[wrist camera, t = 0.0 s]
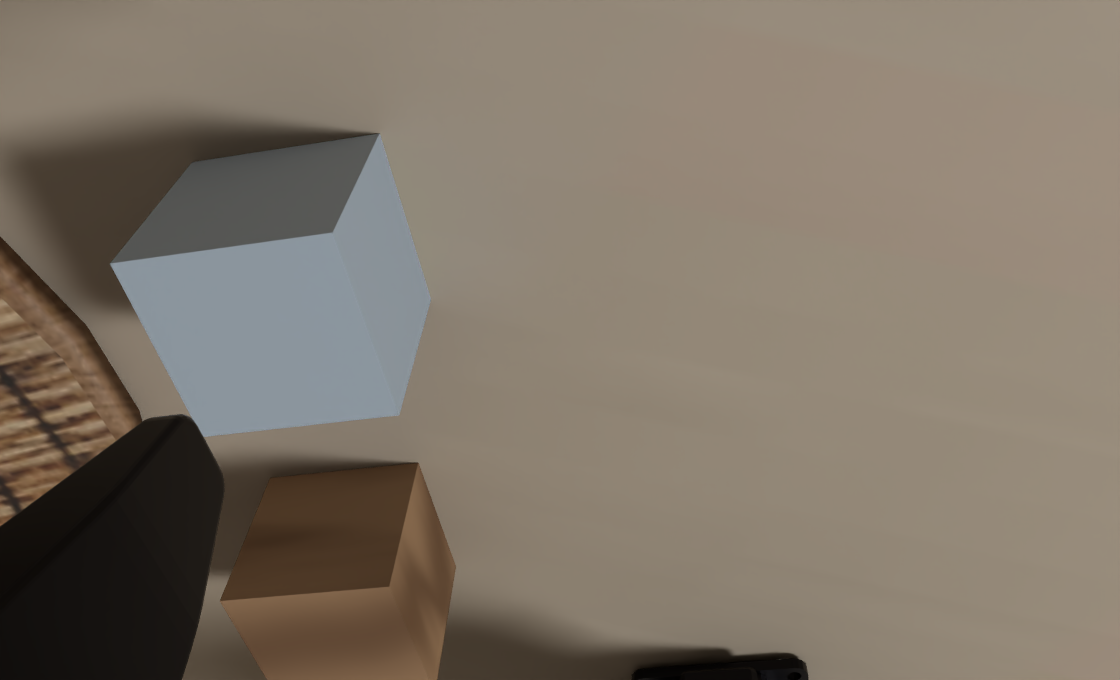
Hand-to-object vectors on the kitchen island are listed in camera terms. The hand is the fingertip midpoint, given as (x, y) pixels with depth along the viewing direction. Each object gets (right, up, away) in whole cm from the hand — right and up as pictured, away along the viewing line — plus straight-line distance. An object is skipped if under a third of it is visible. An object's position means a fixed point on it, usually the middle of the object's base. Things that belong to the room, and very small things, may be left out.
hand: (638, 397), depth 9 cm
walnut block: (-7, -6, +23) cm, 25 cm away
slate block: (-7, +3, +16) cm, 18 cm away
